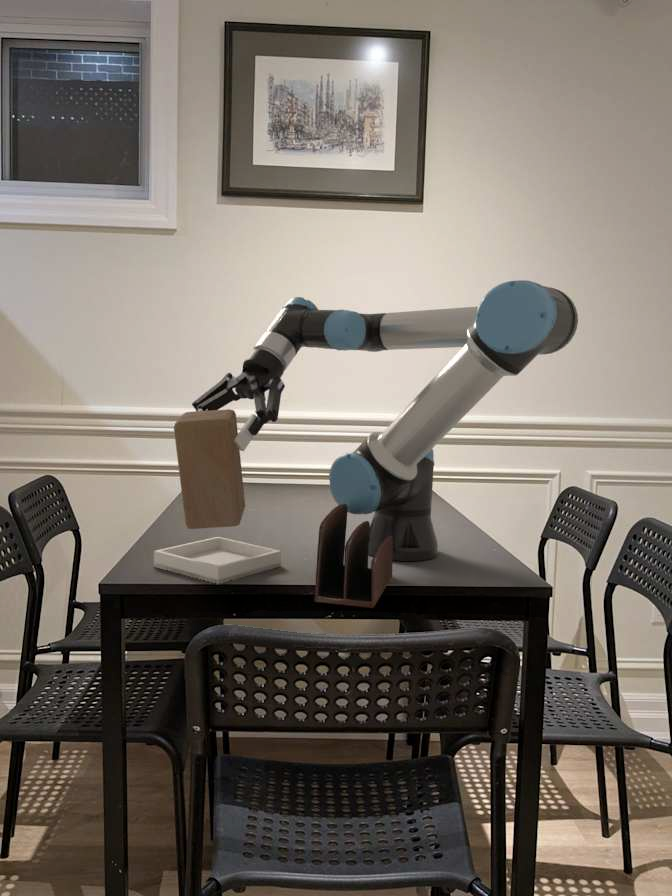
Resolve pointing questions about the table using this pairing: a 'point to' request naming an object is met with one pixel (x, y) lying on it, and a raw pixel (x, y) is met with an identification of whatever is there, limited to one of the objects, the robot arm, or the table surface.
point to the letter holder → (350, 563)
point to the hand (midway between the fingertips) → (211, 442)
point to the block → (210, 469)
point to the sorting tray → (217, 559)
